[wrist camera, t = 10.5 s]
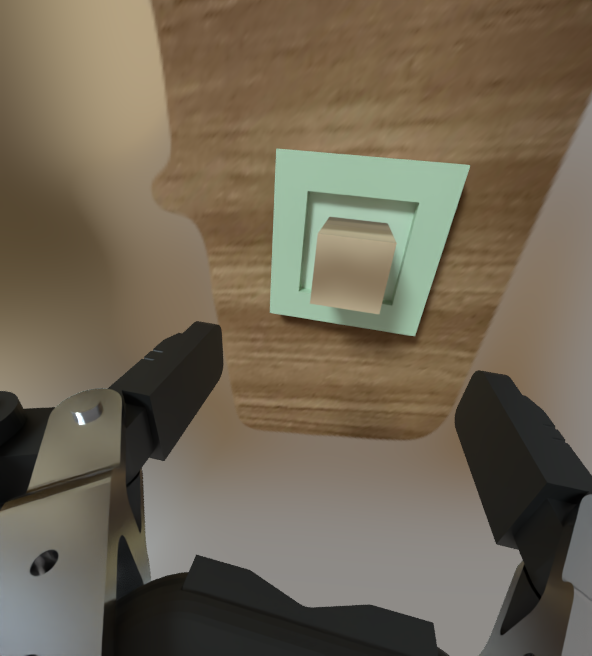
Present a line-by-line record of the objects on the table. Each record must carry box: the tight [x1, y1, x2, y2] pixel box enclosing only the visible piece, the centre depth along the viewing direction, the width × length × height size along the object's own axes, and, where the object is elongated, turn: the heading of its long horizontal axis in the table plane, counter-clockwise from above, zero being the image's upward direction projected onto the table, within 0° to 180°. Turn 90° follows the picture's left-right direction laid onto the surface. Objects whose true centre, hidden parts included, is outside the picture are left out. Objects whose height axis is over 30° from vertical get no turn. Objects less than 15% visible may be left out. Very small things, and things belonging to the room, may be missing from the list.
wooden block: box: [310, 217, 397, 314], centre depth 21 cm, size 4×4×7 cm
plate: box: [270, 149, 470, 336], centre depth 24 cm, size 13×13×2 cm
